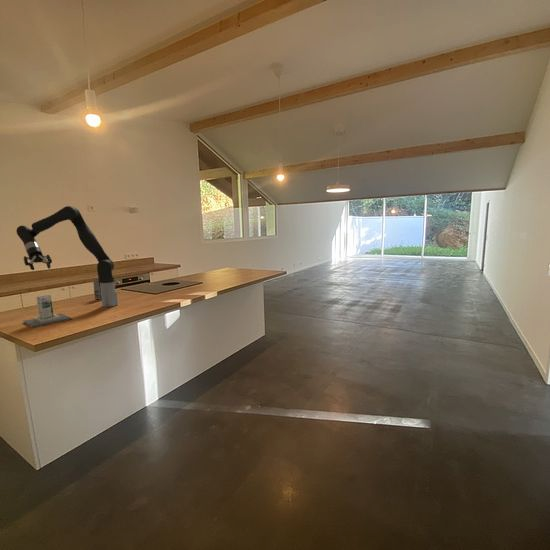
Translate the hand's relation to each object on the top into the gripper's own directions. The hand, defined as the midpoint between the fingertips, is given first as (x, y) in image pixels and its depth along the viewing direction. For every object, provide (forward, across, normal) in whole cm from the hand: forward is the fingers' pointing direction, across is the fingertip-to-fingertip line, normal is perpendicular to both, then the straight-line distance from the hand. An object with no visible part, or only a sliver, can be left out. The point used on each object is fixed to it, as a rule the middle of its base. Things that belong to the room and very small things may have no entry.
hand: (41, 268), depth 207 cm
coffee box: (+7, +44, +37) cm, 58 cm away
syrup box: (+33, -5, +9) cm, 35 cm away
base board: (+34, -5, +9) cm, 36 cm away
